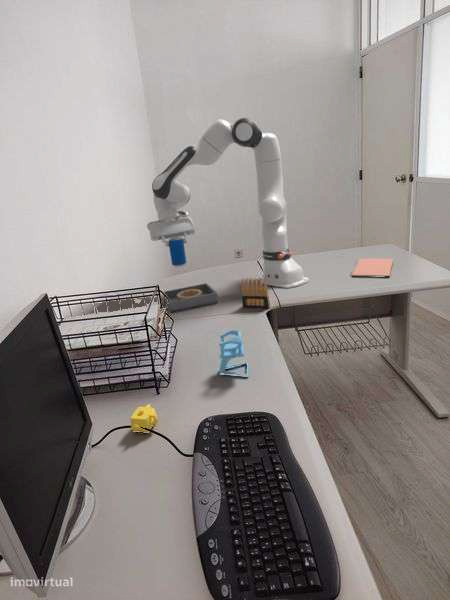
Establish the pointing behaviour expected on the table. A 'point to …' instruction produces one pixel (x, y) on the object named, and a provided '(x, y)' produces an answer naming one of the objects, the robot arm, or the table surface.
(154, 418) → the yellow block with hole
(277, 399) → the table surface
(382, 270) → the notebook
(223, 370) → the chair
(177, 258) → the beverage can
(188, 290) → the tray
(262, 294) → the ammunition clip
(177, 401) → the table surface
